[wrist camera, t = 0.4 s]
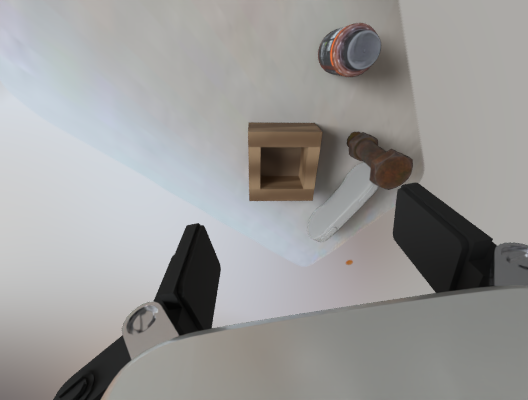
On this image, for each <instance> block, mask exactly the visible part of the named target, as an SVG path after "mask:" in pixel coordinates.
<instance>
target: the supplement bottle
mask: <svg viewBox="0 0 528 400" xmlns="http://www.w3.org/2000/svg"><path fill="white" fill-rule="evenodd" d="M380 50H381V41H380V38H379V36H378V35H377V34H376V32H375V30H374V29H373V28H372V27H371V26H369V25H367V24H364V23H355V24H352V25H349V26H346V27H343V28H340V29H336V30H334V31H332V32H330V33H329V34H328V35H326V37H325V38H324V39H323V40H322V42H321V44H320V47H319V51H318V59H319V63H320V65H321V67H322V68H323V69H324V70H325V71H326V72H328V73H331V74H336V75H341V76H346V77H354V76H358V75H360V74H362V73H364V72H365V71H366V70H368V69H369V68H370V67H371V65H372V64H373V63H374V62H375V61H376V60H377V58H378V56H379V54H380Z"/></svg>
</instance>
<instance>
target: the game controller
mask: <svg viewBox="0 0 528 400" xmlns="http://www.w3.org/2000/svg"><path fill="white" fill-rule="evenodd" d="M370 170H371V168H370V167H369V166H368V165H367V164H366V163H365V162H364V163H361V164H358V165H357V166H355V167H354V168H353V169H352V170H351V171H350V172H349V173H348V174H347V176H346V177H345V179H344V181H343V183H342V184H341V186H340V187H339V188H338V189H337V190H336V191H335V192H334V194H333V195H332V196H331V197H330V198H329V199H328V200H327V201H326V202H325V204H324V205H322V206H320V207H319V208H317V209H316V210H315V211H314V213H313V214H312V216H311V217H310V219H309V222H308V226H307V232H308V235H309V237H310V238H312V239H314V240H316V241H318V242H324V241H326V240H328V239H329V238H330V237H331V236H332V235H333V234H335V233H336V232H337V231H338V230H339V229H340V228H341V227H342V226H343V225H344V224H345V223H346V222H347V221H348V220H349V219H350V218H351V217H352V215H353V214H354V213H355V212H356V211H357V210H358V209H359V208H360V207H361V206H362V205H363V204H364V203H365V202H366V201H367V200H368V199H369V198H370V197H371V196H372V195H373V194H374V193H375V192H376V190H377V189H378V187H379V186H377V185H375V184H373V183H372V182H371V181H370V180H369V178H370Z"/></svg>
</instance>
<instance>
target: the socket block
mask: <svg viewBox="0 0 528 400" xmlns="http://www.w3.org/2000/svg"><path fill="white" fill-rule="evenodd" d="M322 133H323V132H322V131H321V130H320V129H319V128H318V126H317V125H316V124H315V123H249V127H248V148H249V200H250V201H313V194H314V187H315V180H316V174H317V167H318V160H319V153H320V147H321V140H322Z"/></svg>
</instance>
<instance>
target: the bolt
mask: <svg viewBox="0 0 528 400" xmlns="http://www.w3.org/2000/svg"><path fill="white" fill-rule="evenodd" d="M347 146H348V147H349V155H350V156H351V157H353V158H355V159H357V160H360V161H364V162H365V163H366V164H367V165H368V166H369V167H370V168H371V170H370V178H369V180H370V181H371V182H372V183H373V184H375V185H377V186H379V187H381V188H384V189H388V190H389V189H393V188H396V187H398V186H400V185H401V184H403V183H404V182H405V181H406V180H407V179H408V178H409V176H410V175H411V172H412V167H413V160H412V159H411V158H410V157H408V156H406V155H404V154H402V153H399V152H397V151H395V150H393V149H390V150H389V151H387V152H386V151H385V150H383V149H382V148H381V147H379V146H378V139H376V138H375V137H373V136H371V135H369V134H366V133H364V132H363V133H360V132H353V133H351V135H350V136H349V137H348V139H347Z"/></svg>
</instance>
